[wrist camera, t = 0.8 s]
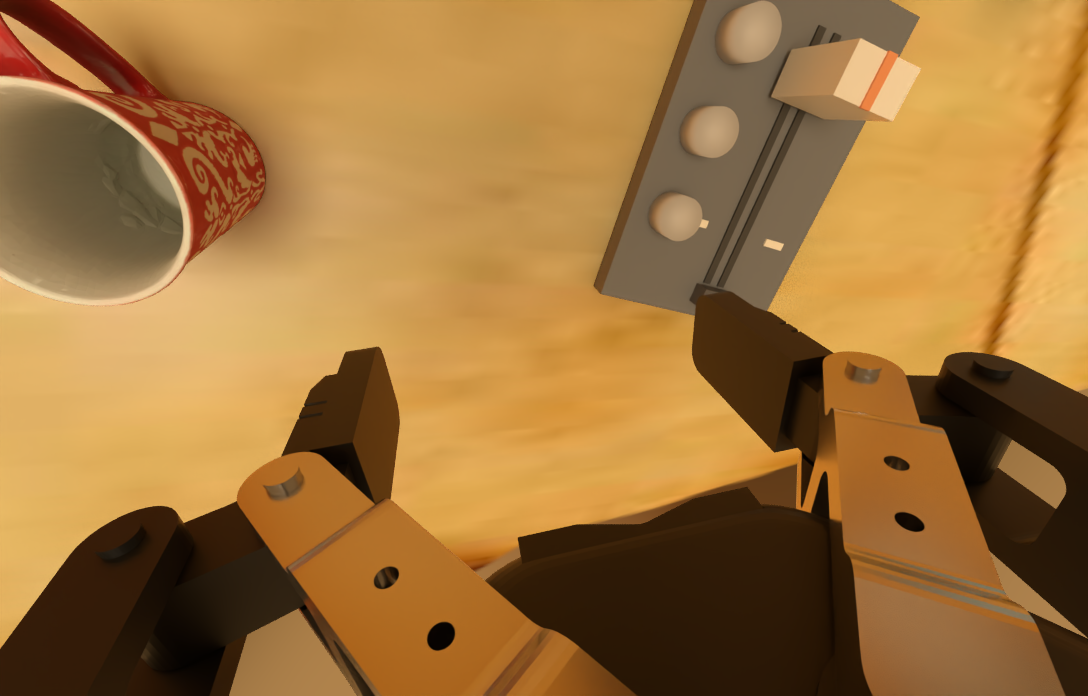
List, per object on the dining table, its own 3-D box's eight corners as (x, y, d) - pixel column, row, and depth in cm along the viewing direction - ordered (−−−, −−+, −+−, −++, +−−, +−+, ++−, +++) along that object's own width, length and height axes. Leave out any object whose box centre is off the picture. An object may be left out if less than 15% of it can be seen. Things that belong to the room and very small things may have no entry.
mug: (305, 219, 33) (232, 280, 21) (174, 248, 32) (22, 329, 20) (212, 2, 27) (36, -79, 15) (47, 32, 26) (-275, -29, 14)
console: (720, -73, 30) (761, -100, 26) (895, 21, 35) (952, 10, 31) (593, 285, 40) (610, 304, 36) (744, 321, 45) (773, 341, 41)
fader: (791, 48, 32) (863, 36, 26) (846, 73, 33) (923, 67, 28) (770, 97, 33) (834, 95, 28) (823, 120, 35) (894, 122, 29)
